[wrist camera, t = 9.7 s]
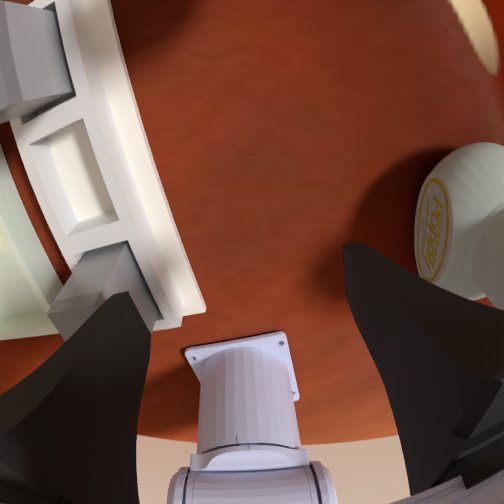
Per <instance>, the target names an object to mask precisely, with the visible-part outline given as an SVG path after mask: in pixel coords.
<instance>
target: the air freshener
mask: <svg viewBox="0 0 504 504" xmlns="http://www.w3.org/2000/svg"><path fill="white" fill-rule="evenodd" d="M414 248H415V258H416V264H417V269H418V272H419V275H420V277H421V278H423V279H425V280H427V281H429V282H430V283H432V284H435V285H437V286H439V287H441V288H443V289H445V290H448V291H450V292H452V293H454V294H457V295H459V296H462V297H464V298H467V299H470V300H476V299H480V298H483V297H486V296H487V297H488V299H489V300H490V301H491V302H492V303H493V304H494V306H495V307H496V308H497V309H501V310H504V146H501V145H498V144H495V143H487V142H479V143H473V144H468V145H466V146H463V147H461V148H459V149H456V150H455V151H453V152H452V153H450V154H449V155H447V156H446V157H445V158H444V159H443V160H442V161H440V162H439V163H438V164H437V165H436V166H435V168H434V169H433V170H432V171H431V173H430V174H429V175H428V176H427V178H426V180H425V182H424V183H423V185H422V188H421V191H420V194H419V198H418V203H417V208H416V215H415V226H414Z"/></svg>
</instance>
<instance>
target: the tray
mask: <svg viewBox="0 0 504 504" xmlns="http://www.w3.org/2000/svg"><path fill="white" fill-rule="evenodd" d="M0 248H1V249H0V340H8V339H17V338H25V337H34V336H42V335H50V334H58V333H59V332H58V330H57V329H56V327H55V326H54V325H53V323H52V322H51V320H50V319H49V317H48V315H47V312H48V310H49V309H50V307H51V305H52V304H53V302H54V300H55V299H56V297H57V296H58V294H59V293H60V291H61V289H62V288H63V284H62V283H61V281H60V279H59V277H58V275H57V274H56V272H55V270H54V268H53V266H52V264H51V262H50V260H49V259H48V257H47V255H46V253H45V251H44V249H43V247H42V245H41V243H40V241H39V239H38V236H37V234H36V232H35V230H34V228H33V226H32V224H31V221H30V219H29V217H28V215H27V212H26V210H25V208H24V206H23V203H22V201H21V198H20V196H19V194H18V191H17V189H16V186H15V183H14V181H13V178H12V176H11V173H10V170H9V167H8V165H7V162H6V159H5V156H4V153H3V150H2V147H1V144H0Z"/></svg>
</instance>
